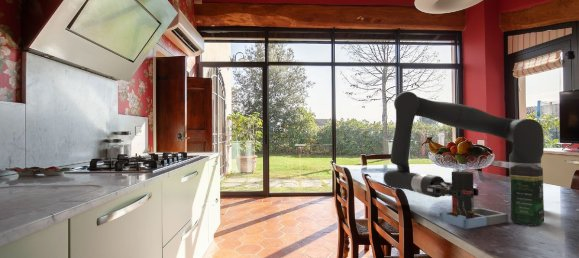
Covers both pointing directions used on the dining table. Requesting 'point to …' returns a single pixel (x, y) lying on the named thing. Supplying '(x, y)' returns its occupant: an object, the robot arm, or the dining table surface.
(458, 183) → the deodorant
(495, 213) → the pale blue open frame
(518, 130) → the robot arm
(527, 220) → the coffee jar
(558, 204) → the dining table surface
